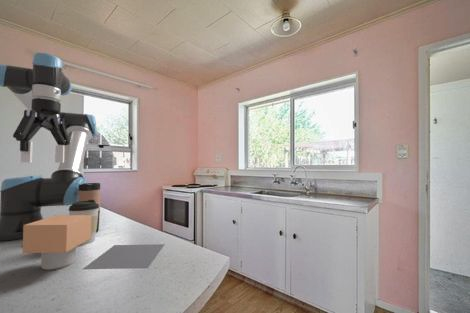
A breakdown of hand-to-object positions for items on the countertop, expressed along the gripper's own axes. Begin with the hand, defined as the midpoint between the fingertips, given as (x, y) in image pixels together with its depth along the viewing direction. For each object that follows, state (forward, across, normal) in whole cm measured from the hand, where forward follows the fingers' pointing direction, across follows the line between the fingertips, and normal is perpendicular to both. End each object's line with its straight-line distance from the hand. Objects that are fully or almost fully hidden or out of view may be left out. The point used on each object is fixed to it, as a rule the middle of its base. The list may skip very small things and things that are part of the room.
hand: (44, 162), depth 74 cm
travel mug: (+29, +17, -5) cm, 34 cm away
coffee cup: (+29, +4, -11) cm, 31 cm away
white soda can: (+29, -13, -15) cm, 35 cm away
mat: (+29, -8, -32) cm, 44 cm away
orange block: (+23, -13, -15) cm, 30 cm away
